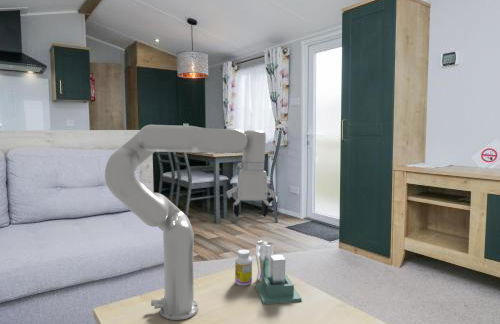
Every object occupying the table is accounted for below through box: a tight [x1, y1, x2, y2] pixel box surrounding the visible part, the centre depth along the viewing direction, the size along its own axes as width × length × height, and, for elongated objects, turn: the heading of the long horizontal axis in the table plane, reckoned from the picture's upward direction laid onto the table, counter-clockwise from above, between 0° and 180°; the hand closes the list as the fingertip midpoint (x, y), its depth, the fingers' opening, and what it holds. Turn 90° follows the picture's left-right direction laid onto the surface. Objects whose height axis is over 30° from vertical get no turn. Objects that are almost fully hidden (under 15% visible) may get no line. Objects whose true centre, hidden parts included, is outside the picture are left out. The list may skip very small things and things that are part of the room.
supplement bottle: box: [234, 249, 253, 287], centre depth 142 cm, size 7×7×13 cm
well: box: [254, 273, 303, 305], centre depth 134 cm, size 14×14×5 cm
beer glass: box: [255, 240, 274, 283], centre depth 145 cm, size 7×7×15 cm
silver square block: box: [270, 254, 286, 285], centre depth 133 cm, size 4×4×13 cm
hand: (250, 215), depth 124 cm, fingers open, 9 cm apart
